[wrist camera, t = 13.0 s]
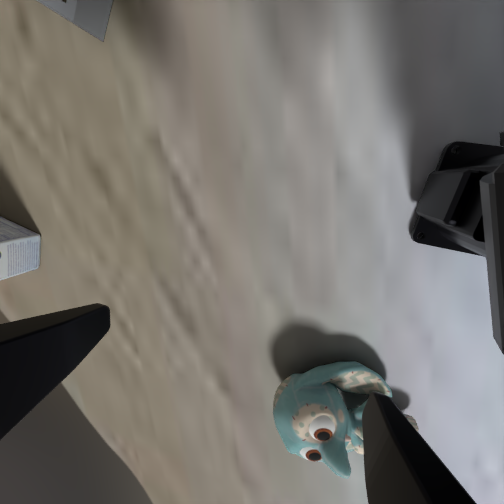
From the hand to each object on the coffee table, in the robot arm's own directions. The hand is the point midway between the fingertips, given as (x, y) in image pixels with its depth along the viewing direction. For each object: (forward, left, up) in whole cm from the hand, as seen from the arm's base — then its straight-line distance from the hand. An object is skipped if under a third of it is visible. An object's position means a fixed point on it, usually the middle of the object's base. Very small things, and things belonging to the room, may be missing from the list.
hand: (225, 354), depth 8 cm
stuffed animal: (-8, +13, -13) cm, 20 cm away
